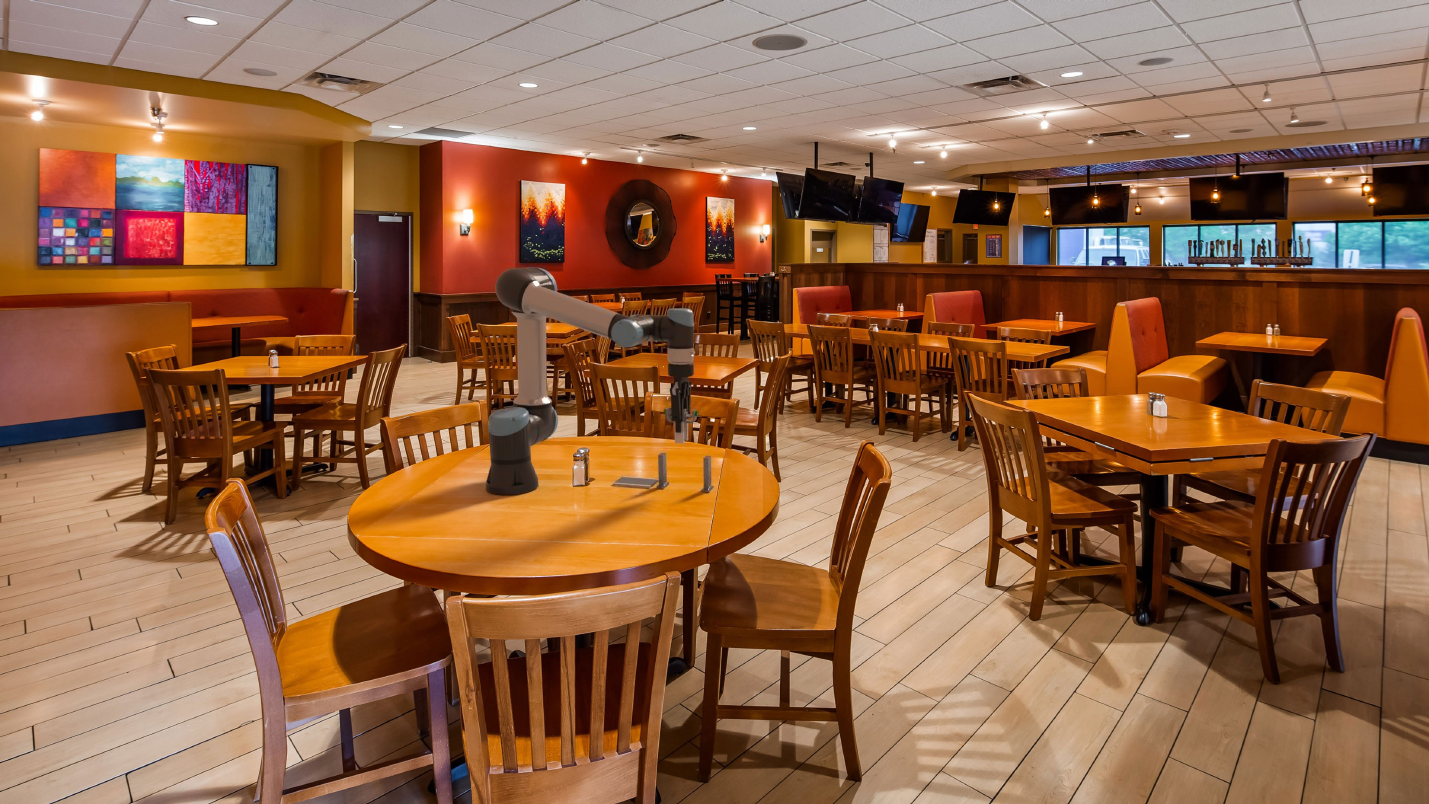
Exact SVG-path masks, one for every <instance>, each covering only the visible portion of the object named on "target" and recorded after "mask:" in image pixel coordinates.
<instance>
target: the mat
mask: <svg viewBox="0 0 1429 804" xmlns="http://www.w3.org/2000/svg"><path fill="white" fill-rule="evenodd" d="M657 483H659V478H653V477H641V476H640V477H639V476H628V475H627V476H626V475H625V476H624V475H622V476H621V477H619V478H618V479H617V480H615V481H614V482H612V486H617V487H628V488H629V487H631V488H642V489H652V487H653V486H654V485H656V484H657Z"/></svg>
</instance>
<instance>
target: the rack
mask: <svg viewBox="0 0 1429 804" xmlns="http://www.w3.org/2000/svg"><path fill="white" fill-rule="evenodd" d="M657 460H658V461H657V462H658V463H657V464H658V465H657V466H658V467H657V469H658V471H657V472H658V475H657V476H658V479H659V481H658V484H657V485H656V486H655V489H660V490H664V489H666V488H667V487H668V486H669V485H670V482H668V481H667V479H668V478H667V475H668V474H667V471H668V470H667V469H668V468H667V452H660V453H659V454H658V455H657ZM702 463H703V466H702V467H703V468H702V469H703V488H701V489H700V491H701V493H710V492H711V491H712V490H713V489H714V488H715V485H712V455H705V456H704V457H703V461H702Z"/></svg>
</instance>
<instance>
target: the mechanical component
mask: <svg viewBox="0 0 1429 804" xmlns="http://www.w3.org/2000/svg"><path fill="white" fill-rule="evenodd" d="M699 411H700V410H697V409H693V410H692V412H691V413H690V414H687V413H688V412H686V409H685V408H683V421H684V428H685V427H686V426H685V423H688V424H693V423H695V421H696V420H697V417H699V413H700V412H699ZM663 414H664V415H665V417H666V418H665V419H666V421H667V422H668V423H675V422H674V421H671V419H672V415H671V407H668V408H664V409H663ZM686 417H691V419H688V420H686Z"/></svg>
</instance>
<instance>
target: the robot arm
mask: <svg viewBox="0 0 1429 804" xmlns="http://www.w3.org/2000/svg"><path fill="white" fill-rule="evenodd" d="M494 287H495V289H494V290H495V295H496V296H497V299H498V300H499V302H500V303H501V304H502V305H504V306H505V307H508V308H509V309H511V314H512V315H513V316H515V318H516V333H517V341H516V342H517V390H518V391H517V396H516V397H515V399H513V401H512V402H513V403H512V404H513V407H511V406H510V407H505V408H500V409H497V410H495V411H493V412H492V413H491V414H490V415H489V417H488V424H487V431H488V440H489V441H488V442H489V452H490V453H489V454H490V455H489V457H490V467H489V470H488V474H487V476H486V480H485V489H486V492H487V493H490V494H493V495H500V496H509V495H511V496H513V495H520V494H521V495H522V494H525V493H529V492H532V491H535V490H537V488H538V487H539V477H538V476H537V475H538V474H537V473H536V470H535V467H534V465H533V462H532V451H531V447H533V446H535V445H537V444H539V443H542V442H544V441H546V440H548V438H550V437H552V436H553V435H554V434H555V432H556V430H557V428H558V424H559V416H558V414H557V411H556V410H555V408H554V407H553V406H552V405H553V404H552V403H553V402H552V399H551V398H550V397H549V396H548V394H547V393H548V391H547V388H548V387H547V382H548V381H547V318H549V319H552V320H555V321H558V322H561V323H563V324H566V325H570V326H573V327H574V328H578V329H581V330H584V331H586V332H589V333H591V334H595V335H598V336H600V337H603V338H607V339H609V340H611V341H613V342H614V343H615V344H616V345H617V346H618V347H621V348H633V347H635V346H639V345H641V344H644V343H647V342H667V361H668V362H669V363H668V364H667V375H668V376H669V377H672V378H673V382H672V387H670V388H669V393H670V408H671V415H672V419H671V421H674V422H673V423H674V443H675V444H685V442H686V441H688V440H689V423H685V426H686V427H685V428H684V421H683V408H685V409H686V412H688V413H687V414H690V415H691V413H692V412H691V410H692V409H691V407H692V406H691V405H692V404H691V403H692V402H691V401H692V399H691V396H692V385H693V383H692V381H689V378H690V377H693V376H694V375H695V364H694V363H693V362H694V360H695V359H694V355H696V351H695V349H694V348H695V346H694V345H695V344H694V335H695V334H694V330H695V329H694V328H695V323H694V312H693V311H692V309H690V308H686V307H685V308H684V307H683V308H680V307H679V308H669V309H667V312H666V313H667V314H665V315H663V314H662V315H659V314H657V315H655V314H631V315H629V316H628V315H624V314H622V313H618V312H616V311H613V310H611V309H608V308H604V307H602V306H599V305H596V304H593V303H590V302H586V301H584V300H581V299H579V298H576V297H573V296H570V295H567V294H564V293H561V292H558V285H557V282H556V280H555V277H554V276H553V275H552V274H551V273H550V272H549V271H548V270H546V269H544V268H540V267H534V266H529V267H514V268H513V267H512V268H508V269H506V270H504V271H503V272H501V274H500V275H499V276H498V277H497V279H496V282H495V286H494ZM689 419H692V417H686V420H689Z"/></svg>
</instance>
